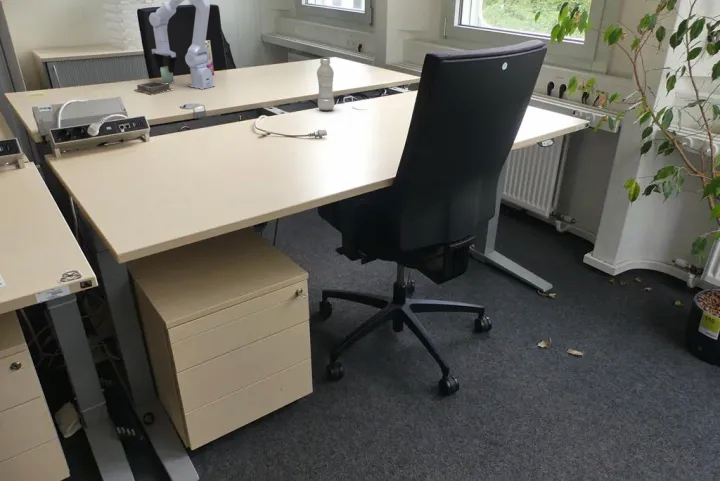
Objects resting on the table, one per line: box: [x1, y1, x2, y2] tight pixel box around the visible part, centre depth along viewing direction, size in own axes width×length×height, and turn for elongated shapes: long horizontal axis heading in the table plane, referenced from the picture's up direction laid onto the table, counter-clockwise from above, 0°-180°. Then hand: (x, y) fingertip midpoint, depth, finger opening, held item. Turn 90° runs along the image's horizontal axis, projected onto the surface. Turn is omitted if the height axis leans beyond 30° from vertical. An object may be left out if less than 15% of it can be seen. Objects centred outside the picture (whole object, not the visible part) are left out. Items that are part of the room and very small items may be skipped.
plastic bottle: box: [316, 57, 335, 112], centre depth 213 cm, size 6×7×20 cm
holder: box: [133, 80, 174, 95], centre depth 242 cm, size 12×12×3 cm
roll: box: [160, 65, 175, 84], centre depth 255 cm, size 5×5×7 cm
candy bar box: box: [205, 39, 215, 77], centre depth 265 cm, size 11×5×16 cm, turn 179°
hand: (166, 71), depth 254 cm, fingers open, 7 cm apart
